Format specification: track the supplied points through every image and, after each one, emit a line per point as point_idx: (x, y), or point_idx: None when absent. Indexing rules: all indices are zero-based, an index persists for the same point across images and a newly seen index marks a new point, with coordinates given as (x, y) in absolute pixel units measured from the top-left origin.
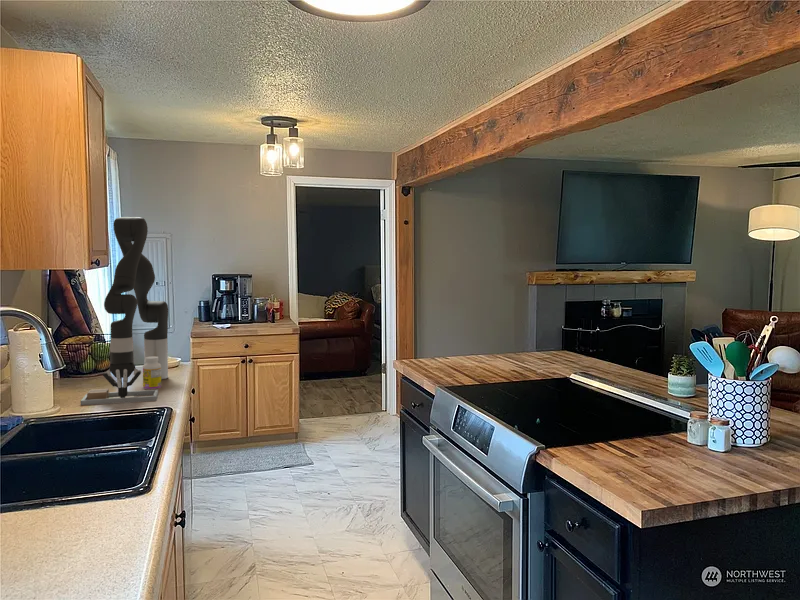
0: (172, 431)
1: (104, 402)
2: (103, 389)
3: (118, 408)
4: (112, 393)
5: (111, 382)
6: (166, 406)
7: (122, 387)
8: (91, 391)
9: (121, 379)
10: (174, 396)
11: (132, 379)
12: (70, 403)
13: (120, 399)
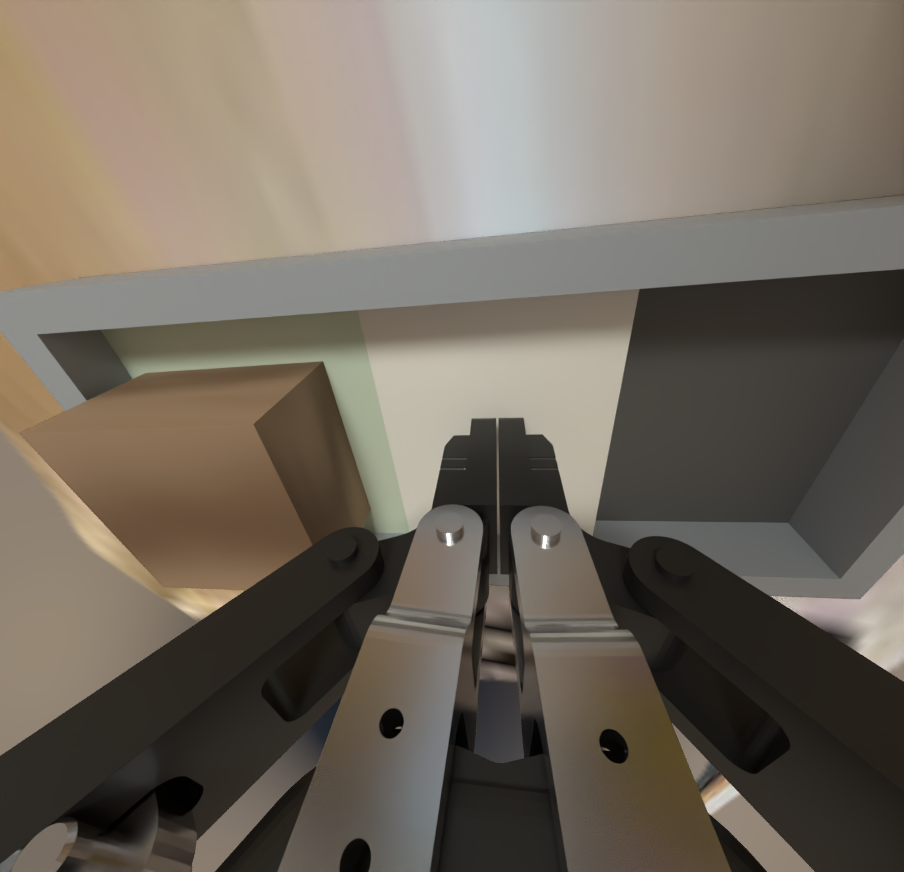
0: (705, 804)
1: None
2: (216, 470)
3: (495, 587)
4: (320, 309)
5: (317, 671)
6: (838, 619)
7: (495, 550)
8: (143, 534)
9: (469, 684)
10: None
11: (732, 765)
12: (32, 382)
13: (497, 576)
